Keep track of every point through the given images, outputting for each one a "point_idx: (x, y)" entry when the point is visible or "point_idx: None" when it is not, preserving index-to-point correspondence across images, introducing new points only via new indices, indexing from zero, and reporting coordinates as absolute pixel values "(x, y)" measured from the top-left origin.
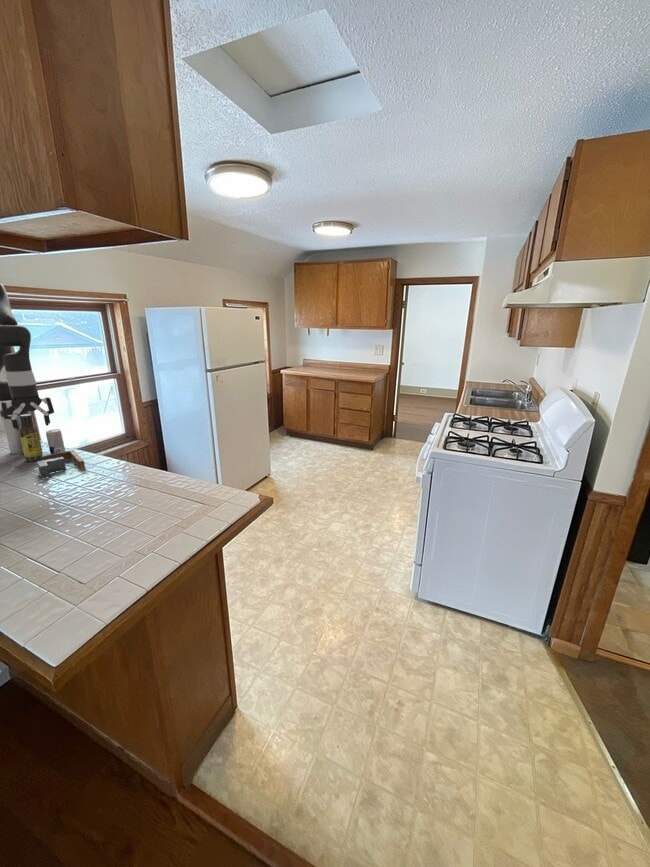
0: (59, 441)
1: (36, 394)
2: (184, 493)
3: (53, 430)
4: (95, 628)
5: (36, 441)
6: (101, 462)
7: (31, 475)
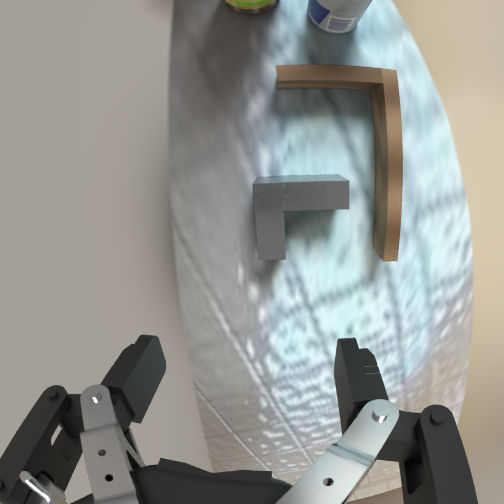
0: (362, 5)
1: None
2: None
3: None
4: None
5: None
6: (439, 205)
7: (233, 179)
